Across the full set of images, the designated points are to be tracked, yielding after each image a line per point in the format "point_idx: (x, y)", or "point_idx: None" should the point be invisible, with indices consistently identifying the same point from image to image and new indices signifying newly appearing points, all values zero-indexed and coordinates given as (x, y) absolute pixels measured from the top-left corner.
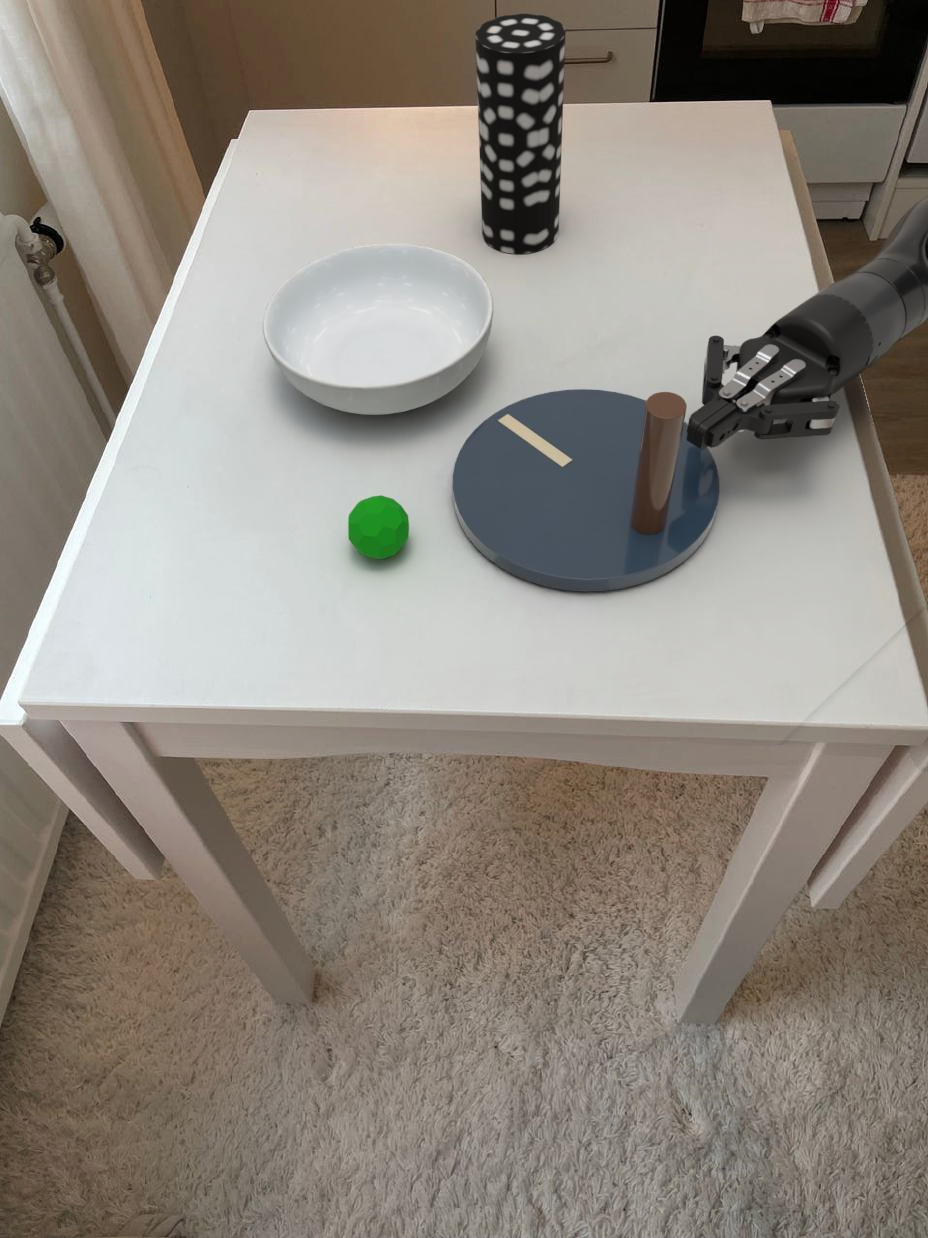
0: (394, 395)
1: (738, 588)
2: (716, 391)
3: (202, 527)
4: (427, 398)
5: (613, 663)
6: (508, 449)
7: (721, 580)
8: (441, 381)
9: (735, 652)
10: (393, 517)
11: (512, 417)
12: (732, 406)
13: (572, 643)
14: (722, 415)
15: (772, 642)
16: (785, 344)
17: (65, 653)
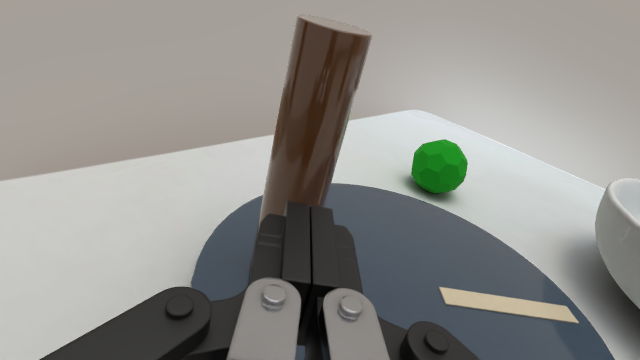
0: (602, 208)
1: (90, 292)
2: (385, 331)
3: (499, 166)
4: (608, 250)
5: (193, 176)
6: (501, 278)
7: (124, 291)
8: (627, 242)
9: (64, 220)
10: (433, 149)
11: (568, 320)
12: (293, 276)
13: (239, 178)
14: (290, 241)
15: (7, 246)
16: None
17: (434, 118)
